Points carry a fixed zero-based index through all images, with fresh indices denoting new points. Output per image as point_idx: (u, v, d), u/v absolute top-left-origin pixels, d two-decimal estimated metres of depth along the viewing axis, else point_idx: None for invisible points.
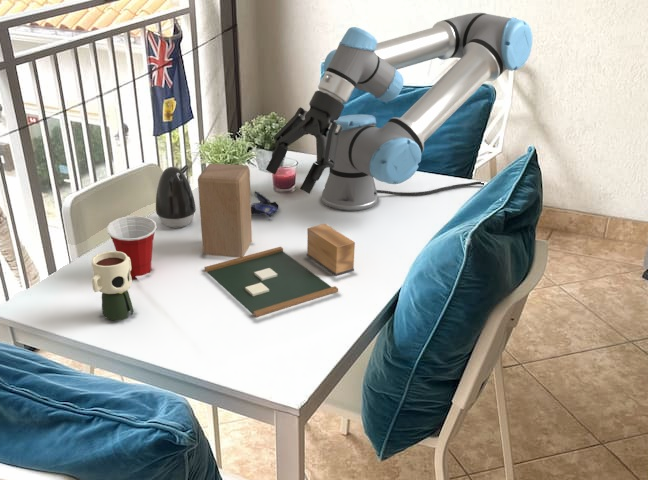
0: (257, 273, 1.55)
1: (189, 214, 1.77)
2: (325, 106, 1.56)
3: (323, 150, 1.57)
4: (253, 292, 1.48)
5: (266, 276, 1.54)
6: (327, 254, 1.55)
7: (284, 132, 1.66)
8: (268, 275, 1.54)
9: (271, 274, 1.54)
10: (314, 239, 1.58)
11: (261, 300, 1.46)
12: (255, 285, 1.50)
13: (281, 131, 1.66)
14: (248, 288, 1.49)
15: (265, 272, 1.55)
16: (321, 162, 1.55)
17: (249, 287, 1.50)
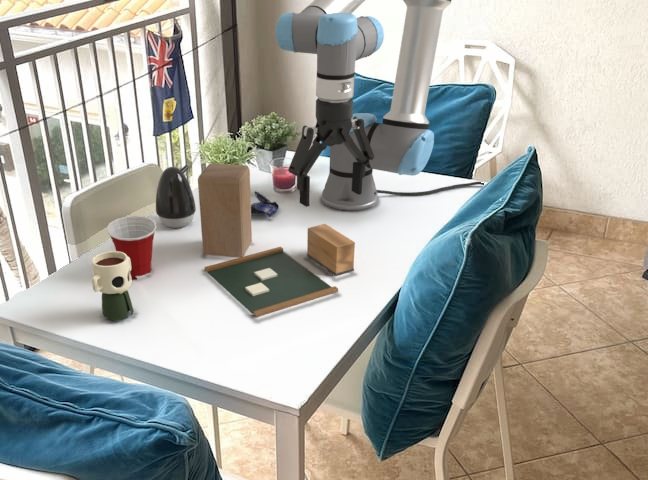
0: (257, 273, 1.55)
1: (189, 214, 1.77)
2: (352, 113, 1.41)
3: None
4: (253, 292, 1.48)
5: (266, 276, 1.54)
6: (327, 254, 1.55)
7: None
8: (268, 275, 1.54)
9: (271, 274, 1.54)
10: (314, 239, 1.58)
11: (261, 300, 1.46)
12: (255, 285, 1.50)
13: (301, 163, 1.42)
14: (248, 288, 1.49)
15: (265, 272, 1.55)
16: None
17: (249, 287, 1.50)
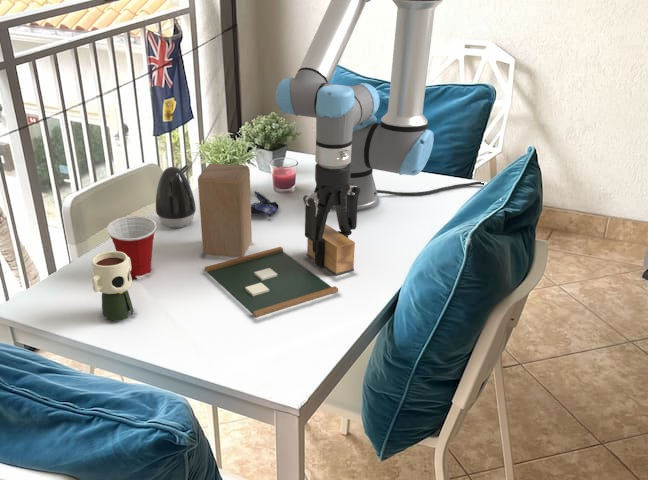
0: (257, 273, 1.55)
1: (189, 214, 1.77)
2: (350, 177, 1.48)
3: None
4: (253, 292, 1.48)
5: (266, 276, 1.54)
6: (328, 254, 1.55)
7: None
8: (268, 275, 1.54)
9: (271, 274, 1.54)
10: None
11: (261, 300, 1.46)
12: (255, 285, 1.50)
13: (313, 229, 1.51)
14: (248, 288, 1.49)
15: (265, 272, 1.55)
16: None
17: (249, 287, 1.50)
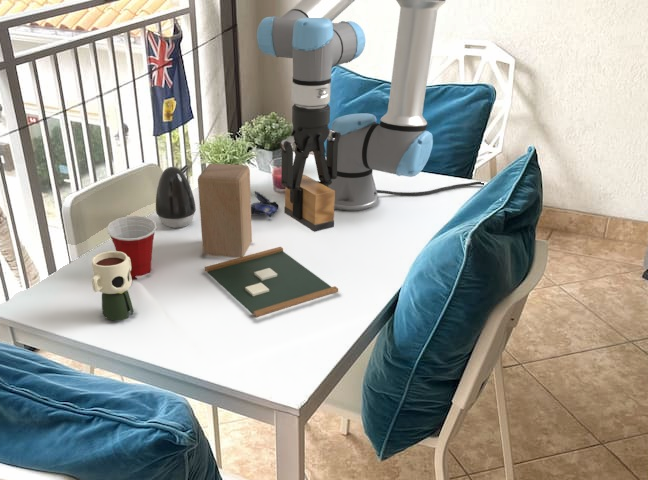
0: (257, 273, 1.55)
1: (189, 214, 1.77)
2: (329, 119, 1.39)
3: None
4: (253, 292, 1.48)
5: (266, 276, 1.54)
6: (306, 204, 1.45)
7: None
8: (268, 275, 1.54)
9: (271, 274, 1.54)
10: None
11: (261, 300, 1.46)
12: (255, 285, 1.50)
13: (290, 176, 1.42)
14: (248, 288, 1.49)
15: (265, 272, 1.55)
16: None
17: (249, 287, 1.50)
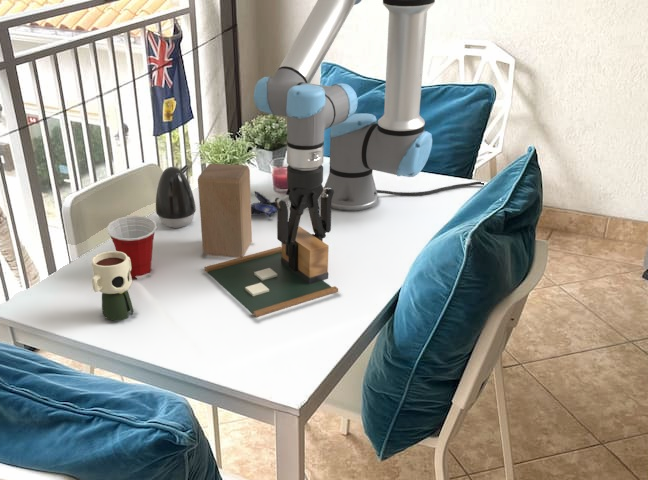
0: (257, 273, 1.55)
1: (189, 214, 1.77)
2: (322, 178, 1.45)
3: None
4: (253, 292, 1.48)
5: (266, 276, 1.54)
6: (301, 258, 1.52)
7: None
8: (268, 275, 1.54)
9: (271, 274, 1.54)
10: None
11: (261, 300, 1.46)
12: (255, 285, 1.50)
13: (285, 232, 1.48)
14: (248, 288, 1.49)
15: (265, 272, 1.55)
16: None
17: (249, 287, 1.50)
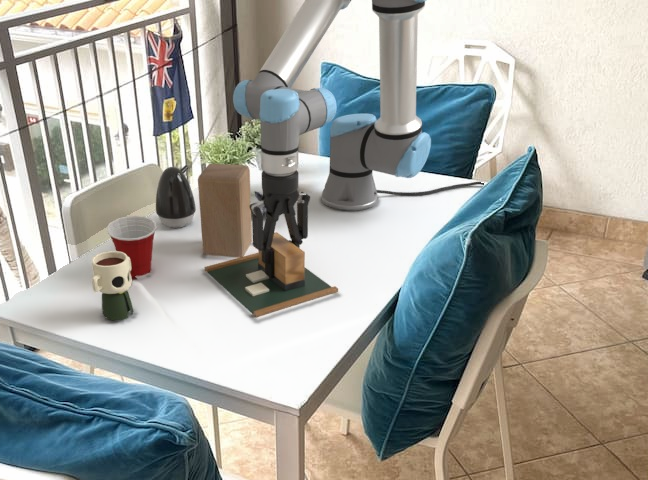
0: (248, 275, 1.54)
1: (189, 214, 1.77)
2: None
3: None
4: (253, 292, 1.48)
5: (258, 278, 1.53)
6: (277, 264, 1.49)
7: None
8: (260, 277, 1.53)
9: (263, 276, 1.53)
10: None
11: (261, 300, 1.46)
12: (255, 285, 1.50)
13: (261, 239, 1.45)
14: (248, 288, 1.49)
15: (257, 275, 1.54)
16: None
17: (249, 287, 1.50)
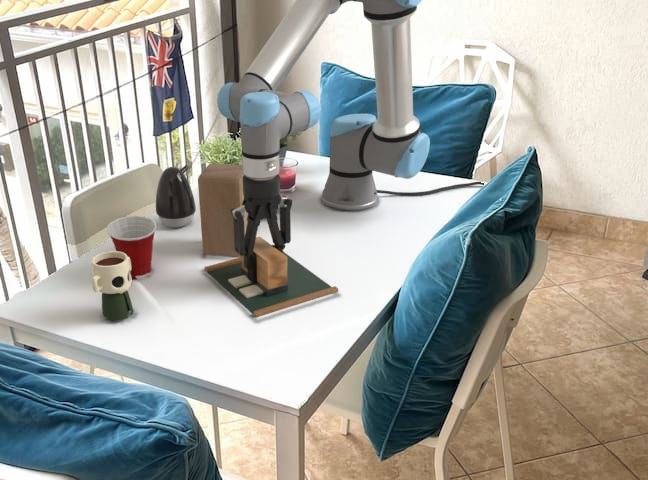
0: (231, 280, 1.52)
1: (189, 214, 1.77)
2: (279, 188, 1.40)
3: None
4: (247, 294, 1.47)
5: (240, 283, 1.51)
6: (259, 269, 1.47)
7: None
8: (242, 282, 1.51)
9: (245, 281, 1.52)
10: None
11: (261, 300, 1.46)
12: (249, 287, 1.50)
13: (242, 244, 1.43)
14: (242, 290, 1.49)
15: (239, 280, 1.52)
16: None
17: (243, 289, 1.49)
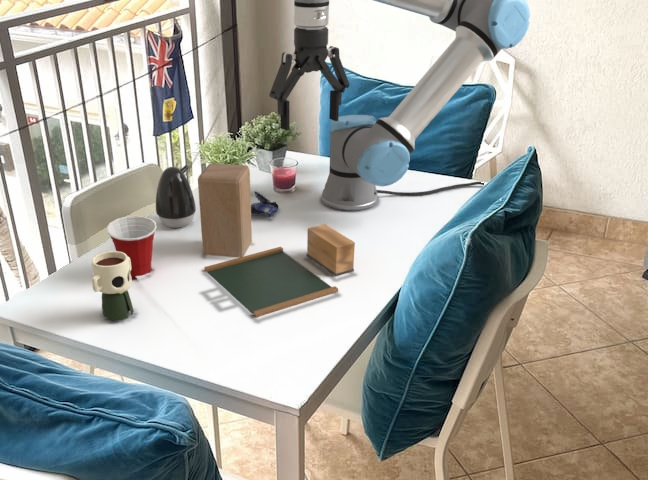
0: None
1: (189, 214, 1.77)
2: (327, 40, 1.53)
3: None
4: None
5: None
6: (327, 254, 1.55)
7: None
8: None
9: None
10: (314, 239, 1.58)
11: (261, 300, 1.46)
12: None
13: (280, 88, 1.54)
14: None
15: None
16: None
17: None
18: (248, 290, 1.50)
